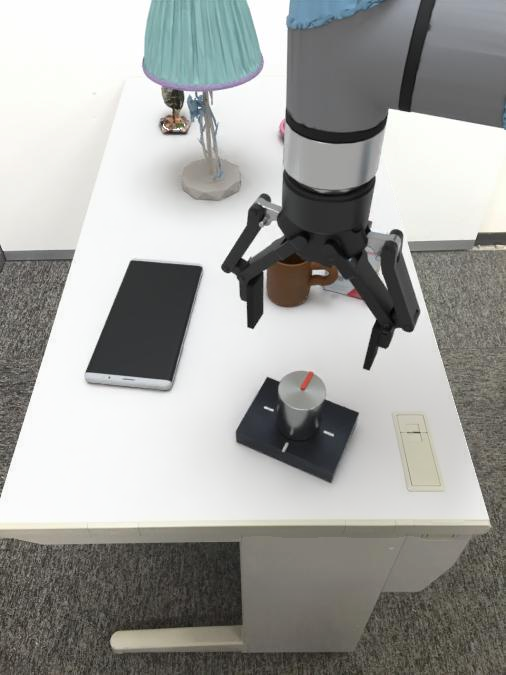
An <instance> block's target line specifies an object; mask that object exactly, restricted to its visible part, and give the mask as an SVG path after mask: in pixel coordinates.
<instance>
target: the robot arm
mask: <svg viewBox="0 0 506 675" xmlns="http://www.w3.org/2000/svg"><path fill="white" fill-rule="evenodd" d="M285 19H286V21H285V25H286V28H287V30H286V31H287V32H286V34H287V36H286V47H287V48H286V85H285V87H286V90H285V91H286V94H285V116H284V117H285V118H284V119H285V132H284V137H283V154H282V157H283V158H282V164H283V171H282V183H281V184H282V185H281V186H282V188H281V205H279V204H276V203H273V202H272V198H271V196H270V195H269V194H268V193H264V192H263V193H260V194H259V196H258V197H257V198H256V200H255V201H254V202H253V204H252V205H251V206H250V207H249V208H248V210H247V219H246V225H245V226H244V229H243V230H242V232H241V233H240V235H239V237H238V238H237V240H236V242H235V243H234V244H233V246H232V248H231V249H230V251H229V252H228V254H227V256H225V259H224V260H223V262H222V264H220V269H221V271H222V272H223V273H225V274H233V275H235V276H236V279H237V281H238V290H239V291H238V292H239V298H240V301H243V302H245V303H246V327H247V328H248V329H252V330H254V329H255V328H256V326H257V324H258V323H259V321H260V320H261V318H262V317H263V315H264V304H265V303H264V301H265V300H264V299H265V298H264V294H265V293H264V290H265V288H264V287H265V286H264V284H265V283H264V282H265V278H264V277H265V276H264V275H265V273H264V272H265V271H267V269H268V268H269V267H271V266H272V265H274V264H275V263H277V262H278V261H280V260H284V259H286V258H287V257H289V256H290V255H292V254H294V253H295V252H296V253H297V254H298V255H299V256H301V259H302V260H305V261H309V262H317V263H319V264H321V265H322V266H325V267H328V268H331V269H332V267H333V266H335V267H336V268H337V269H338V271H339V272H340V274H341V275H342V277H343V278H344V279H345V280H349V281H350V282H351V284H352V285H353V286H354V288H355V289H356V291H357V292H358V294H359V295H360V296H361V298H362V299H361V300H362V301H363V303H364V304H365V305H366V307H367V308H368V309H369V311H370V312H371V314H372V315H373V317H374V318H375V321H374V324H373V326H372V328H371V331H370V332H371V333H370V336H369V340H368V345H367V349H366V352H365V357H364V360H363V364H362V369H363V370H365V371H369V372H370V371H371V369H372V366H373V364H374V361H375V359H376V357H377V355H378V351H379V348H380V349H384V350H387V349H389V347H390V345H391V342H392V340H393V338H394V335H395V331H396V329H401V330H402V331H403V332H405V333H412V332H414V331H415V328H416V325H417V324H418V323H417V322H418V320H419V317H420V315H421V308H420V305H419V302H418V299H417V298H418V297H417V295H416V292H415V289H414V286H413V283H412V279H411V276H410V272H409V270H408V267H407V264H406V261H405V258H404V254H403V244H404V236H405V235H404V232H403V231H402V230H401V229H398V228H395V229H394V228H393V229H391V230H390V231H389V232H388V234H383V233H377V232H372V231H371V229H370V227H369V222H368V220H369V218H370V215H371V214H370V213H371V208H372V203H373V198H374V192H375V185H376V181H377V176H376V174H377V172H378V169H379V166H380V160H381V155H382V150H383V144H384V138H385V134H386V127H387V122H388V117H389V110H390V109H391V110H395V111H400V112H405V113H415V114H421V115H427V116H431V117H437V118H443V119H449V120H455V121H458V122H459V121H460V122H464V123H471V124H475V125H481V126H486V127H492V128H493V127H494V128H499V129H504V131H506V0H289V6H288V15H287V16H286V17H285ZM274 221H275V222H276V224H277V226H278V228H279V229H280V231H281V233H282V234H283V235H282V236H281V237H279V238H277V239H278V240H277V239H275V240H276V241H275V240H274V241H275V242H274V241H273V242H274V243H272V242H271V243H272V244H271V243H270V244H269V245H268V246H266V247H265V248H264V249H262V250H260V251H259V252H258V253H256V254H255V255H254V256H250V257H249V258H248V260H246V259H244V258H243V257H244V255H245V253H246V252H247V250H248V249H249V248H250V246H251V245H252V243H253V242H254V240H255V239H256V237H257V236H258V234H259V232H260V231H261V230H262V228H264V227H268V226H270V225H271V223H272V222H274ZM369 221H370V220H369ZM366 247H370V248H371V249H372V250H373V251H374V254H375V256H376V257H375V259H376V261H381V266H380V270H381V275H382V277H383V280H384V282H385V283H384V282H383V281H382V279H381V278H380V276H379V274H378V275H377V273H376V271H375V270H374V268H373V267H372V265H371V264H370V262H369V261H368V255H367V252H366V251H365V248H366ZM349 259H351V260H350V261H349Z"/></svg>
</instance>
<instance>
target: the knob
mask: <svg viewBox="0 0 506 675" xmlns="http://www.w3.org/2000/svg"><path fill="white" fill-rule="evenodd" d="M279 381H280V383H279V387H278V400H277V415H276V423H277V427H278V429H279V431H280V432H281V433H282V434H283V435H284V436H286V437H287V438H289V439H292V440H297V441H302V440H307V439H310V438H312V437H313V436H314V435H315V434H316V433H317V432H318V430H319V428H320V424H321V419H322V414H323V408H324V403H325V399H326V396H327V388H326V387H327V386H326V385H325V382H324V381H323V379H322V378H321V377H319V376H318V375H317V374H315V372H314V371H311V370H309V371H307V370H295V371H292V372H289V373H287V374H286V375H284V376H283V377H282V379H281V380H279Z"/></svg>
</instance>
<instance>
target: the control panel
mask: <svg viewBox="0 0 506 675" xmlns="http://www.w3.org/2000/svg"><path fill="white" fill-rule="evenodd" d="M280 381H281V380H277V379H274V378H272V377H269V376H266V377H265V379H264V381H263V383H262V385H261V386H260V388H259V390H258V391H257V393H256V394H255V397H254V399H253V400H252V402H251V404H250V405H249V407H248V409H247V411H246V412H245V414H244V416H243V417H242V419H241V420H240V422H239V424H238V426H237V428H236V430H235V441H236V443H238V444H241V445H243V446H245V447H247V448H250V449H252V450H254V451H256V452H258V453H261V454H263V455H265V456H268V457H270V458H273V459H275V460H277V461H278V462H279V461H280V463H281V462H282V463H284V464H286V465H288V466H291V467H293V468H295V469H298V470H300V471H302V472H305V473H307V474H309V475H311V476H313V477H316V478H317V479H321V480H323V481H325V482H327V483H330V484H332V483H333V480H334V478H335V476H336V474H337V471H338V469H339V466H340V464H341V461H342V459H343V456H344V454H345V451H346V449H347V447H348V444H349V443H350V440H351V437H352V435H353V433H354V430H355V428H356V425H357V422H358V418H359V414H360V412H359V411H356V410H353V409H351V408H348V407H346V406H343V405H341V404H339V403H336V402H333V401H331V400H328V399H326V398H325V403H324V408H323V414H322V419H321V424H320V428H319V430H318V432H317V433H316V434H315V435H314V436H313V437H312V438H310V439H307V440H302V441H297V440H292V439H289V438H287V437H286V436H284V435H283V434H282V433H281V432H280V431H279V429H278V427H277V423H276V415H277V400H278V387H279V383H280Z"/></svg>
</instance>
